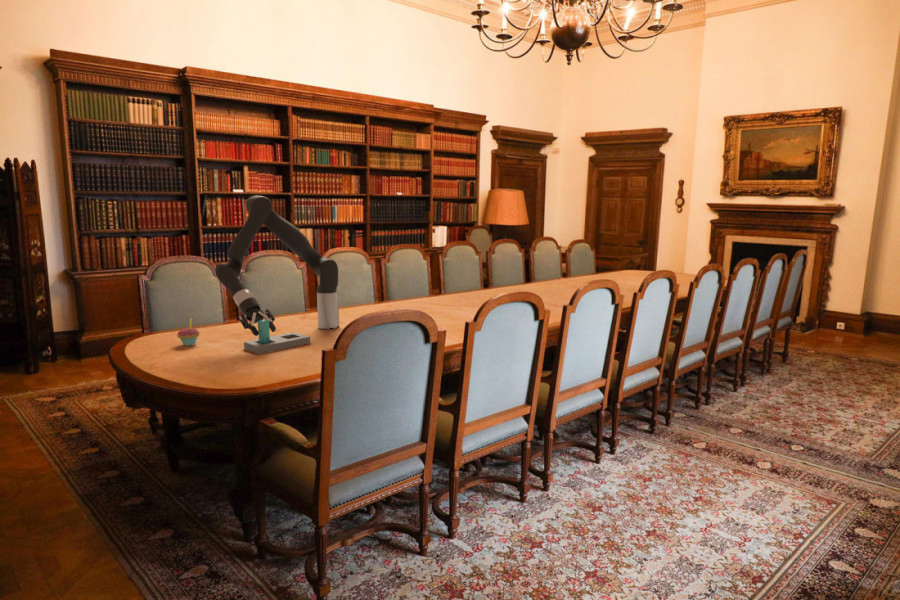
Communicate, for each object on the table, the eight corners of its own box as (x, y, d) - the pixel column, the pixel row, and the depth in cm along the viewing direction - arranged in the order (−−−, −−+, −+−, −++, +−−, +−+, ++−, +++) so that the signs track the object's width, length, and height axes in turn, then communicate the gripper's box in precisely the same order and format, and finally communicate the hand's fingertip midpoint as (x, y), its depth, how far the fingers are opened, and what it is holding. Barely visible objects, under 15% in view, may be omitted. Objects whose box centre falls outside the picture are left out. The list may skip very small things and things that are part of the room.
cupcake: (203, 342, 248) (201, 315, 245) (193, 347, 239) (191, 319, 237) (184, 341, 248) (182, 314, 246) (173, 346, 240) (171, 318, 238)
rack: (295, 338, 255) (294, 331, 254) (310, 343, 247) (310, 336, 246) (244, 348, 238) (243, 341, 237) (258, 354, 230) (258, 347, 229)
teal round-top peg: (266, 346, 241) (265, 318, 239) (272, 348, 238) (270, 320, 236) (257, 348, 238) (255, 320, 236) (262, 350, 235) (261, 322, 233)
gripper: (235, 299, 232) (255, 330, 228) (264, 294, 244) (283, 324, 240) (228, 310, 236) (247, 341, 232) (256, 305, 248) (275, 334, 244)
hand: (266, 332), depth 236 cm, fingers open, 8 cm apart
